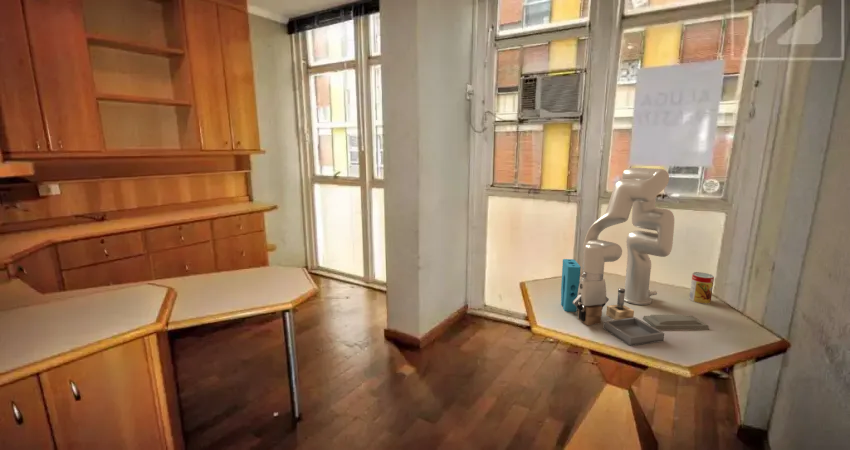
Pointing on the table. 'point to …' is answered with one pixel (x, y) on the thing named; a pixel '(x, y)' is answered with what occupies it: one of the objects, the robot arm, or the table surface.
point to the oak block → (619, 312)
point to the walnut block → (592, 315)
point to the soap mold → (675, 322)
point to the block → (570, 284)
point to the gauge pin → (620, 298)
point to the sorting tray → (633, 331)
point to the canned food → (701, 287)
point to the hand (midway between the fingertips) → (589, 318)
